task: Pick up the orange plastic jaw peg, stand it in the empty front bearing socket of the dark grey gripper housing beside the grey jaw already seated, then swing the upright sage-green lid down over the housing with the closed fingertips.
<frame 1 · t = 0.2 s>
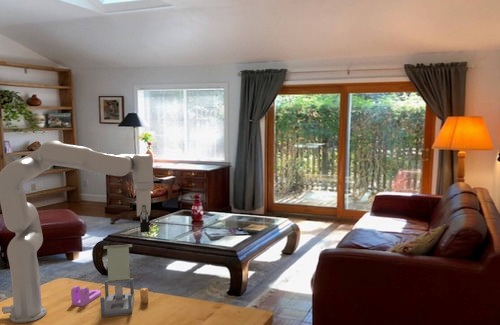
hand: (145, 228, 174), 31 cm above the table, tool pointing down, fingers open, 9 cm apart
lid: (118, 263, 181), point 15 cm above the table, hinge at 100.0°
housing: (118, 306, 175), on the table
bracket: (88, 299, 183), on the table
orange jaw: (144, 302, 179), on the table
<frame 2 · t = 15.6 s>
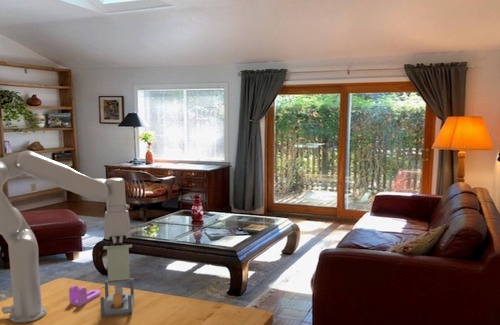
hand: (118, 251, 183), 19 cm above the table, tool pointing down, fingers closed
lid: (118, 264, 181), point 15 cm above the table, hinge at 96.6°, touching gripper
orange jaw: (117, 308, 171), point 1 cm above the table, touching housing
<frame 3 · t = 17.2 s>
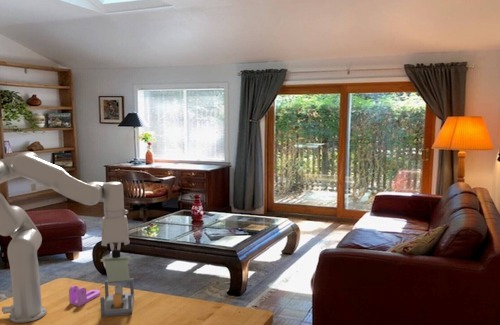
hand: (116, 259, 174), 19 cm above the table, tool pointing down, fingers closed
lid: (117, 270, 177), point 14 cm above the table, hinge at 57.5°
everything else where it was.
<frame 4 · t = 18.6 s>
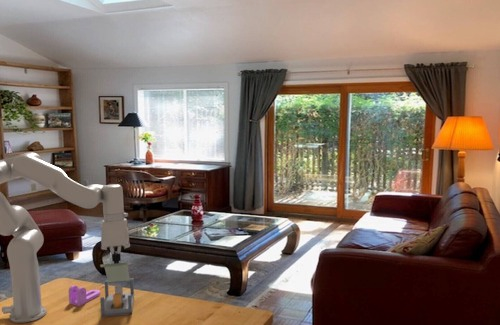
hand: (116, 262, 172), 18 cm above the table, tool pointing down, fingers closed
lid: (117, 273, 176), point 13 cm above the table, hinge at 47.5°, touching gripper
everything else where it was.
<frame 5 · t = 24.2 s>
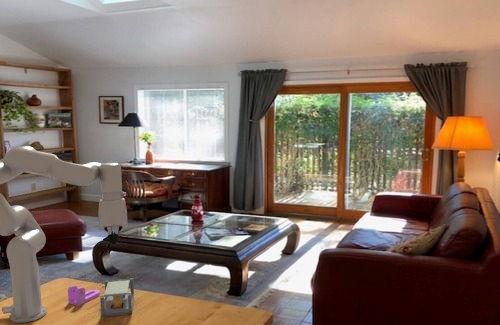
hand: (114, 243, 168), 27 cm above the table, tool pointing down, fingers closed
lid: (117, 287, 174), point 8 cm above the table, hinge at 1.5°
at the end: orange jaw 0.1 cm from the target spot on the housing, point 1.1 cm above the housing's base; orange jaw tilted 0°; lid at +2° (first picture: +100°) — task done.
